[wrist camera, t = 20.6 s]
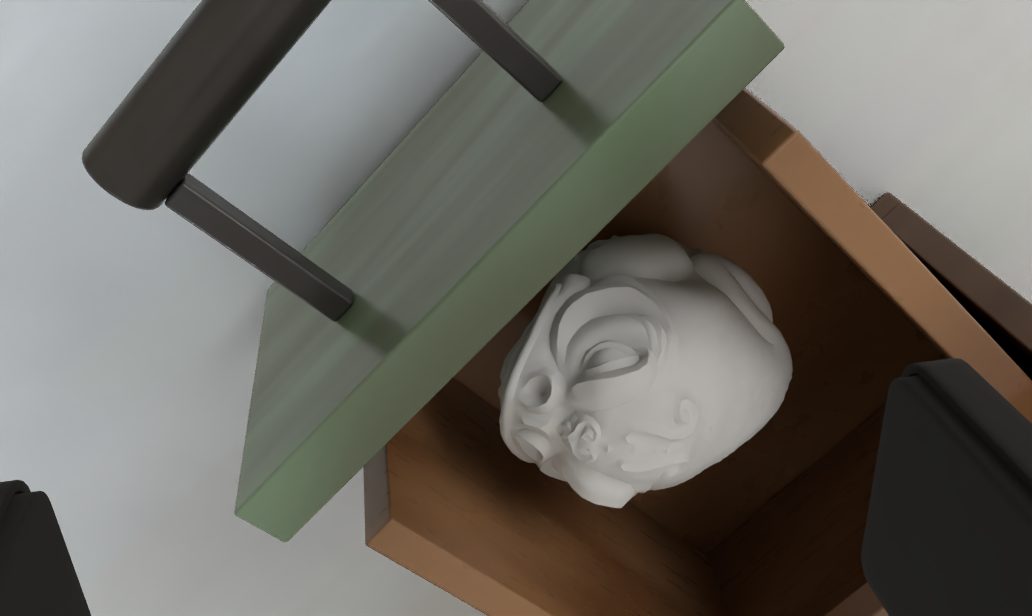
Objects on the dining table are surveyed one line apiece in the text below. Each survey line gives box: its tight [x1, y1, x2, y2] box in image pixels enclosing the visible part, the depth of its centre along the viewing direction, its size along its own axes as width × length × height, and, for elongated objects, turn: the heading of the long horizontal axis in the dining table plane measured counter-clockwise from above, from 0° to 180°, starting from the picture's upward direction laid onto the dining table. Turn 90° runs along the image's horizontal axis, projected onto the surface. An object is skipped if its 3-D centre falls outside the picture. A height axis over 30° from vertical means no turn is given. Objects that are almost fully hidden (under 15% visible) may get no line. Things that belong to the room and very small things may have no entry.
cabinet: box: [823, 193, 1032, 616], centre depth 29 cm, size 18×14×11 cm
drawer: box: [82, 0, 1032, 616], centre depth 22 cm, size 22×12×9 cm, turn 46°
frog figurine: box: [498, 233, 793, 508], centre depth 23 cm, size 6×7×7 cm
